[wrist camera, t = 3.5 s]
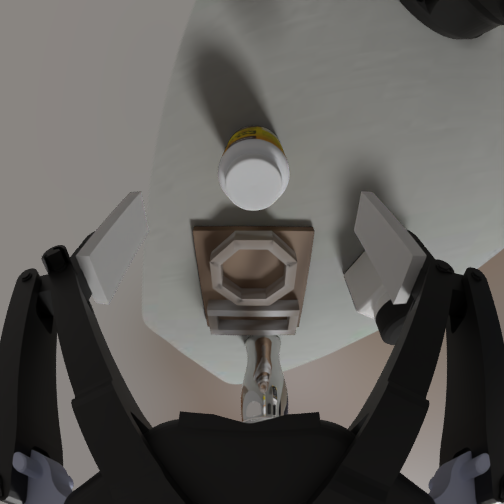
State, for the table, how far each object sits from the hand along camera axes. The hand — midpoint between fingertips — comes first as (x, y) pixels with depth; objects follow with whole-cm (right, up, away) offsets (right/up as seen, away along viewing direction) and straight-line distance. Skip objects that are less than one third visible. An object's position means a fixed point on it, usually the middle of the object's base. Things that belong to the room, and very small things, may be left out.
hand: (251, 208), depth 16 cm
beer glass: (+2, -18, +29) cm, 34 cm away
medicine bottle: (+17, -4, +20) cm, 27 cm away
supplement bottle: (0, +8, +11) cm, 14 cm away
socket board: (0, -6, +21) cm, 22 cm away
